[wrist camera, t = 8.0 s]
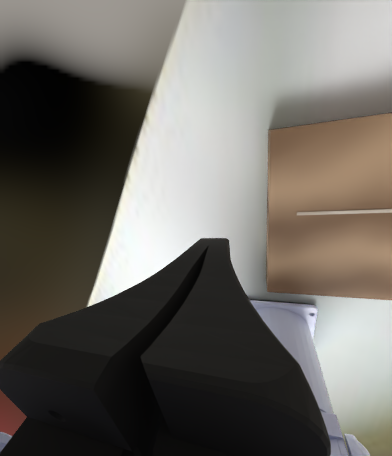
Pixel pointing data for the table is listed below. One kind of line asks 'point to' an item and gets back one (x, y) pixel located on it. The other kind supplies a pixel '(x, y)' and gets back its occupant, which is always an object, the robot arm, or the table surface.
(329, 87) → the table surface
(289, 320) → the robot arm
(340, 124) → the oak board
